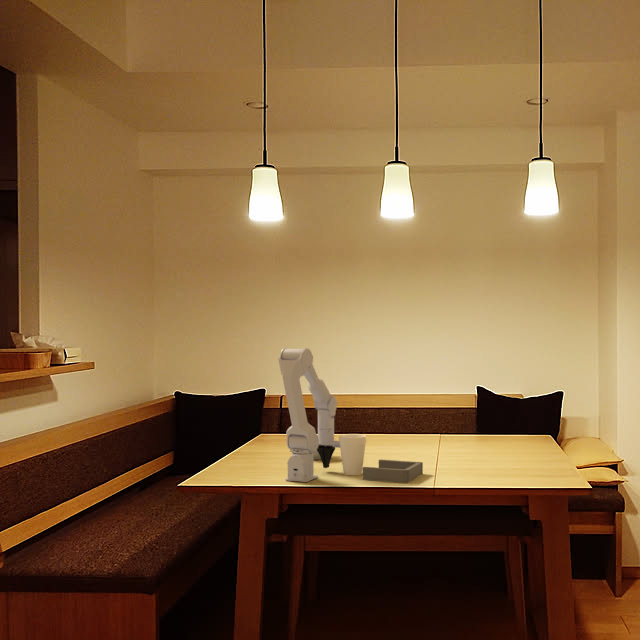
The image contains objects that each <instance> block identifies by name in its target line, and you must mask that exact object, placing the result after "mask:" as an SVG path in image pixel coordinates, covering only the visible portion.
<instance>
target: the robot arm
mask: <svg viewBox="0 0 640 640" xmlns="http://www.w3.org/2000/svg"><path fill="white" fill-rule="evenodd" d="M277 359H278V365H279V369H280V374H281V375H282V381H283V386H284V391H285V397H286V403H287V407H288V412H289V416H290V417H289V418H290V423H291V426H289V427H288V428H287V430H286V432H285V433H286V446H287V448H288V450H289V452H290V453H291V456H290V457H289V458H288V460H287V477H286V478H285V479H284V480H285V481H288V482H290V481H291V482H303V483H307V482H310V481H312V480H314V479H317V478H318V477H319V475H315V474H314V471H315V469H314V460H313V452H315V451H316V449H317V451H318V453H319V455H320V457H321V459H320V461H321V463H322V466H323V469H328V468H330V464H331V459H332V456H333V454H334V453H335V450H336V448H338V449H339V448H340V443H339V440H335V417H336V410H337V407H338V401H337V400H338V399H337V398H336V396H335V395H333V394H331V392H330V390H329V389H328V387H327V385H326V383H325V381H324V380H323V379H321V378H319V377H318V375H317V374H318V373H317V372H316V370H315V369H316V368H315V367H314V364H313V363H314V355H313V354H312V351H311V349H310V348H306V347H305V348H289V347H284V348H282V349H281V351H280V353H279V356H278V358H277ZM301 377H305V379H306V381H307V382H308V383H309V384H308V390H309V393H310V394H311V396H312V397H313V405H314V409H315V410H317V431H316V428H315V427H314V426H313V425H311V424H310V423H309V422H308V416H307V413H306V407H305V401H304V397H303V390H302V385H301V381H300V380H301Z"/></svg>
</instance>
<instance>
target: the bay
mask: <svg viewBox="0 0 640 640" xmlns="http://www.w3.org/2000/svg"><path fill="white" fill-rule="evenodd" d="M423 467H424V465H423V462H422V461H410V460H409V461H408V460H407V461H406V460H398V459H396V460H395V459H393V460H392V459H378V467H375V466H374V467H373V466H363V469H362V480H365V481H379V482H389V483H405V484H408V483H410V482H411V481H413V480H415V479H416V478H419V477H420V476H422V475H423V472H424V471H423V469H424V468H423Z"/></svg>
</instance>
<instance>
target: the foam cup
mask: <svg viewBox="0 0 640 640" xmlns="http://www.w3.org/2000/svg"><path fill="white" fill-rule="evenodd" d="M338 441H339V443H340V449H339V450H340V457H341V463H342V470H343V471H342V472H343V475H346V476H361V475H363V467H364V461H365V460H364V458H365V452H366V451H365V450H366V444H367V436H366V435H365V434H360V433H348V434H340V435H338Z"/></svg>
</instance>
